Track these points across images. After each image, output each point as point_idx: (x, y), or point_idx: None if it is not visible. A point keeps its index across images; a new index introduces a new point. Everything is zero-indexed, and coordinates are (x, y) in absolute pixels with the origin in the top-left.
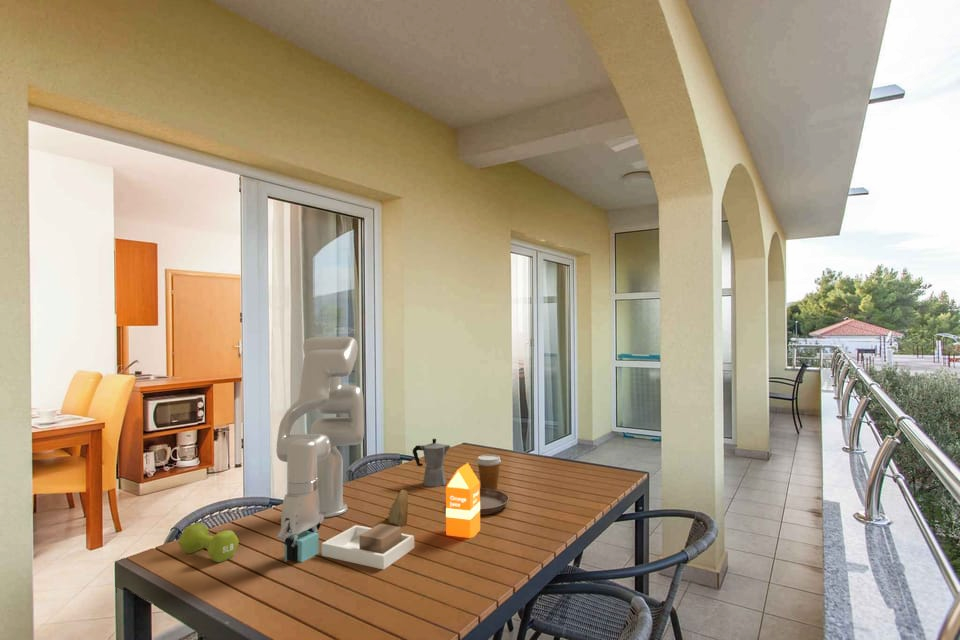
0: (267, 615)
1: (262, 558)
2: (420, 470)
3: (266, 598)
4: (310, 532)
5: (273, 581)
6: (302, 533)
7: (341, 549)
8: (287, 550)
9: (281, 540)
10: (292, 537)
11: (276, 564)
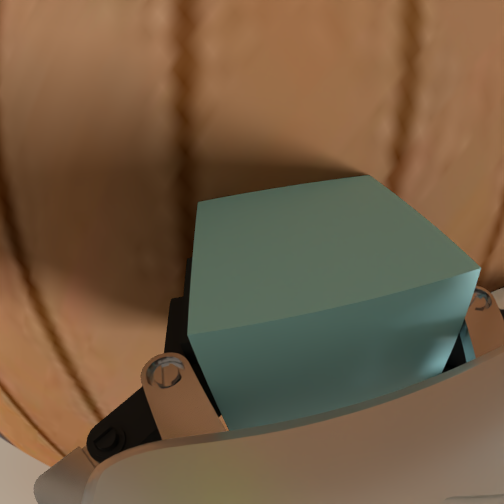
0: (27, 437)
1: (122, 12)
2: None
3: (25, 403)
4: (430, 374)
5: (55, 353)
6: (396, 358)
7: None
8: (167, 340)
9: (79, 452)
10: (260, 379)
11: (130, 203)
